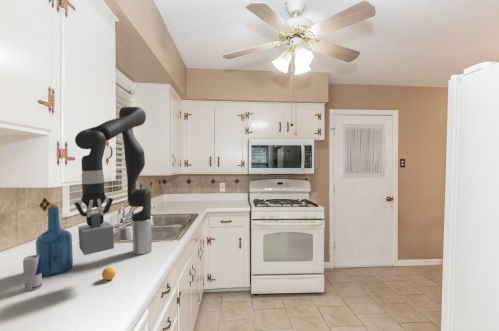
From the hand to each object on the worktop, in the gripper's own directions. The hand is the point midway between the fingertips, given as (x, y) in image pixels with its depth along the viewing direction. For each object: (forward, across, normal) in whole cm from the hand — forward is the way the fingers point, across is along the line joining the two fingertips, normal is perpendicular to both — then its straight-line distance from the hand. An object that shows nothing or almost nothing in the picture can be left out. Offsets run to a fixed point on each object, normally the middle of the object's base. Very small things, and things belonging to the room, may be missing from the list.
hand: (95, 224), depth 106 cm
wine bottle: (+24, +12, -26) cm, 37 cm away
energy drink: (+24, +20, -12) cm, 33 cm away
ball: (+21, -4, +1) cm, 21 cm away
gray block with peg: (+10, 0, 0) cm, 10 cm away
